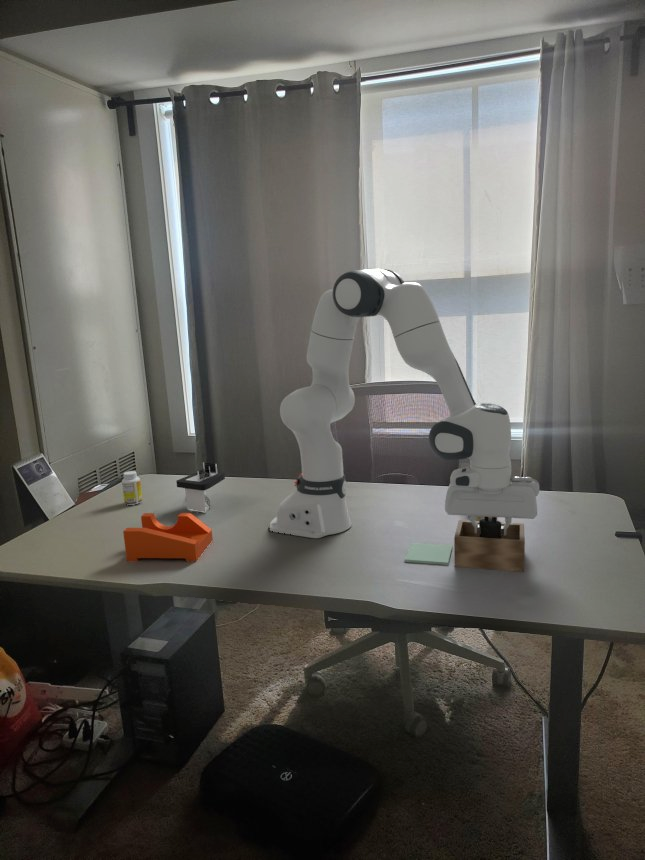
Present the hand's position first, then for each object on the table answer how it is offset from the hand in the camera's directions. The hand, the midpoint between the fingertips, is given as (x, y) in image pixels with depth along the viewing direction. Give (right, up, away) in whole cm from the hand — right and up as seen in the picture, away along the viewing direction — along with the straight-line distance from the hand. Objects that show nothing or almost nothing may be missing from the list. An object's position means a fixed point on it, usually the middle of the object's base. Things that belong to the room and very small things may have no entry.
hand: (490, 533), depth 141 cm
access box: (0, -6, +1) cm, 6 cm away
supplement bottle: (-99, 0, +56) cm, 114 cm away
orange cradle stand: (-77, -8, +16) cm, 79 cm away
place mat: (-13, -6, +6) cm, 15 cm away
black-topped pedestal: (-74, -1, +48) cm, 89 cm away
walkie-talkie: (0, -6, +1) cm, 6 cm away
